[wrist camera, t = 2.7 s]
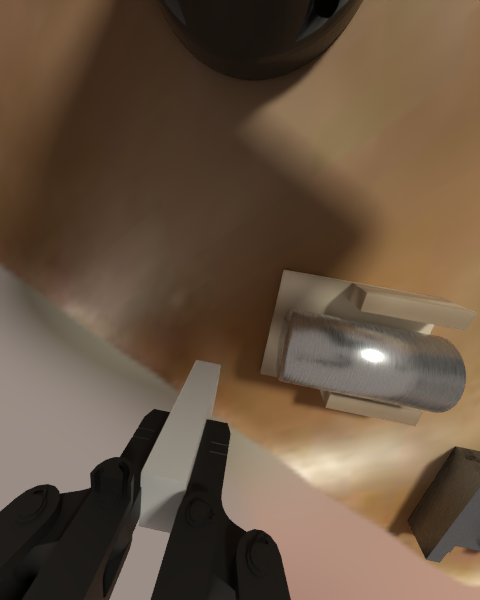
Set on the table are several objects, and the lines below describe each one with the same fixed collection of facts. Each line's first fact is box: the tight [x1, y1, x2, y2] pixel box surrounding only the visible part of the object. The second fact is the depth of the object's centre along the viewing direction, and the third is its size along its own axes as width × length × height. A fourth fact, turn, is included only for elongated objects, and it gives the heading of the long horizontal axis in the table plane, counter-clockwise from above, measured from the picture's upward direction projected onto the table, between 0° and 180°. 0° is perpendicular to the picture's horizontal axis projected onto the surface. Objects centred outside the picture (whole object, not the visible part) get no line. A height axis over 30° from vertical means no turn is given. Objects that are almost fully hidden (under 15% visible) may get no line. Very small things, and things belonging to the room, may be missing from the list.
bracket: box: [260, 269, 477, 426], centre depth 21 cm, size 11×14×4 cm
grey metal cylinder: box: [276, 308, 466, 413], centre depth 19 cm, size 6×12×6 cm, turn 81°
